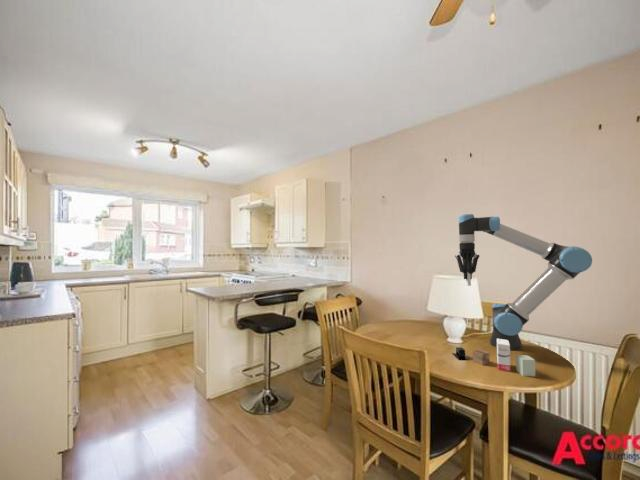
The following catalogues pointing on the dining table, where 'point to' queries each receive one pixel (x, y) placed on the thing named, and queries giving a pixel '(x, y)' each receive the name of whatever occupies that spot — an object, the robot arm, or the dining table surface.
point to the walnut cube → (481, 357)
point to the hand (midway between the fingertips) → (468, 285)
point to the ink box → (503, 355)
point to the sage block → (525, 365)
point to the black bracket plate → (460, 354)
